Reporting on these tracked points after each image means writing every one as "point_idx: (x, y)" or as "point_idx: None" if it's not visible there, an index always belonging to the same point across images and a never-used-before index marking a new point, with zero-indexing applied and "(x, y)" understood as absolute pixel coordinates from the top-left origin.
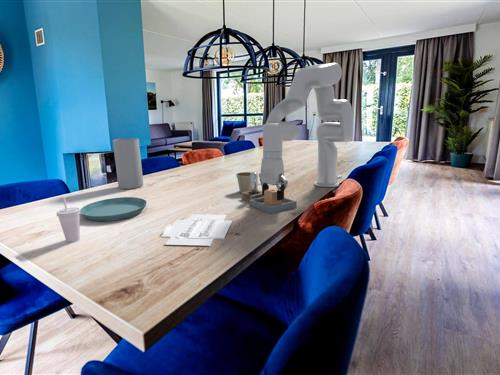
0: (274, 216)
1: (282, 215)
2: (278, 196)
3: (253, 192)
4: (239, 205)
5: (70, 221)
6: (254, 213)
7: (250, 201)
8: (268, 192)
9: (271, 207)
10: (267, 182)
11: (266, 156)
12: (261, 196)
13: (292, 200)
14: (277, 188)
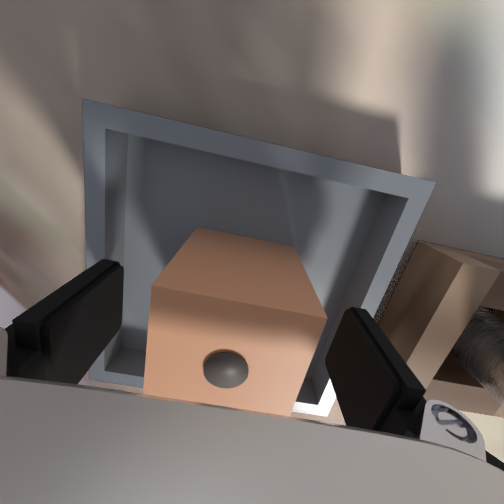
0: (35, 75)
1: (20, 145)
2: (79, 283)
3: (501, 339)
4: (488, 116)
5: None
6: (221, 10)
7: (412, 178)
8: (229, 293)
9: (84, 121)
10: (215, 433)
11: None
12: (400, 340)
13: (125, 378)
14: (4, 356)
